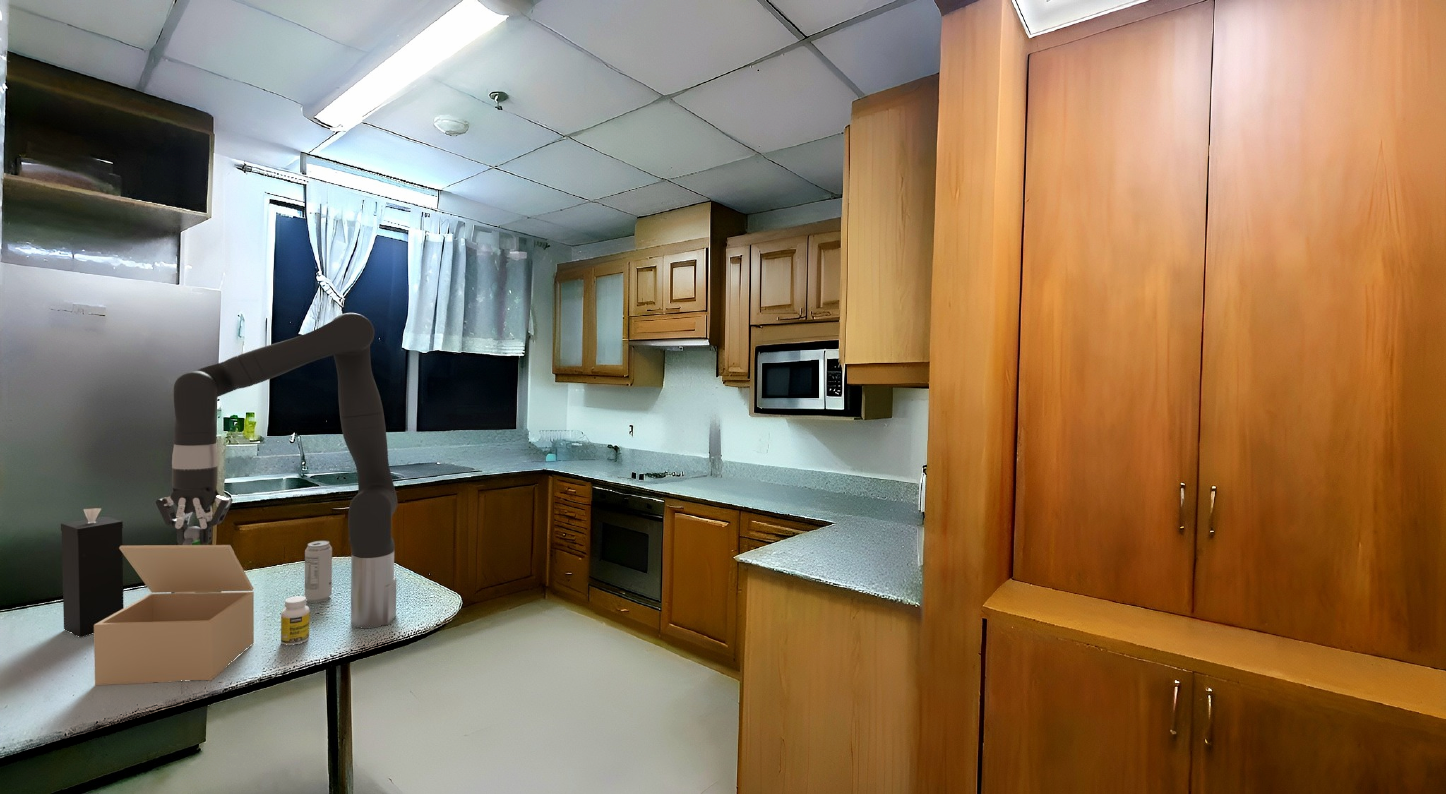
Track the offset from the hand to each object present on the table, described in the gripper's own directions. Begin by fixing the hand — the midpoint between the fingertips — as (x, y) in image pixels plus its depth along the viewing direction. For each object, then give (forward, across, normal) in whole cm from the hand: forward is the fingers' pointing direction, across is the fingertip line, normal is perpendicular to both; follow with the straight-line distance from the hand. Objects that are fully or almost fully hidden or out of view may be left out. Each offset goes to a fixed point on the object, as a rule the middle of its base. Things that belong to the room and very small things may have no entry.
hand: (194, 544), depth 139 cm
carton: (+24, 0, +5) cm, 24 cm away
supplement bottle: (+24, -18, -4) cm, 30 cm away
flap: (+5, 0, +2) cm, 5 cm away
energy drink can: (+23, -13, -29) cm, 40 cm away
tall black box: (+24, +28, -14) cm, 39 cm away
